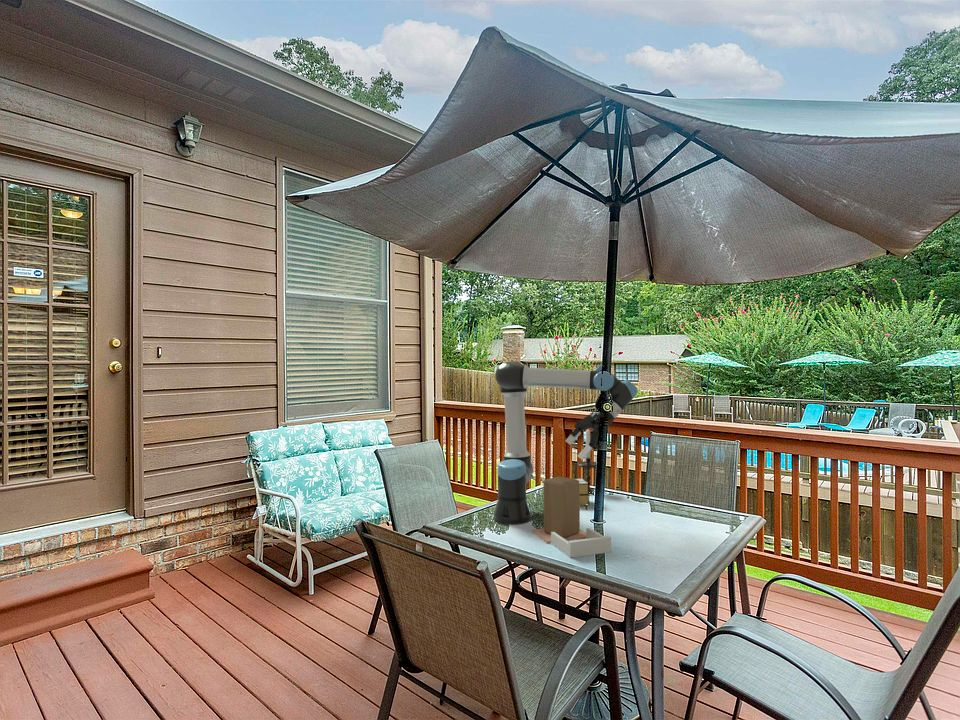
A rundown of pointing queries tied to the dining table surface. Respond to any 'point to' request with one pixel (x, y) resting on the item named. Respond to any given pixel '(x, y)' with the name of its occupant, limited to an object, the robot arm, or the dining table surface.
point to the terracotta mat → (580, 535)
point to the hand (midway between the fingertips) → (573, 450)
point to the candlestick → (588, 463)
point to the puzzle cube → (583, 492)
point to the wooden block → (561, 506)
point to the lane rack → (583, 544)
